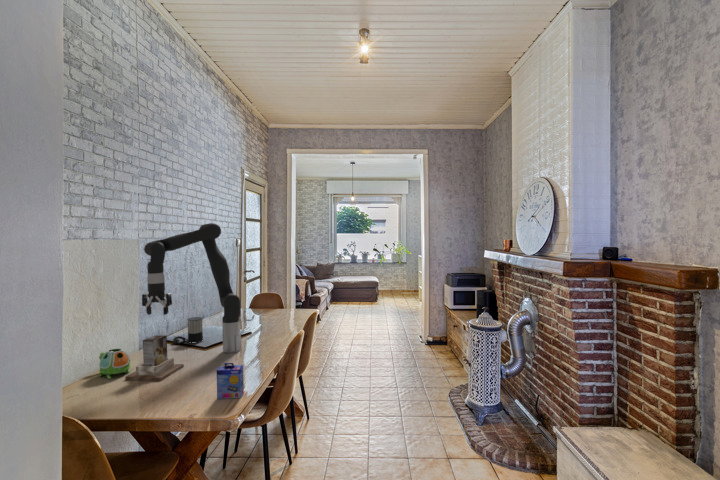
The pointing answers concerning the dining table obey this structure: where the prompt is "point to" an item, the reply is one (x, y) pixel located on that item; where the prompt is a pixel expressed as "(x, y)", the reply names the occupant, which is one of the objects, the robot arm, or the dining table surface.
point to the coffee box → (155, 350)
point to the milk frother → (192, 331)
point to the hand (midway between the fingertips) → (157, 314)
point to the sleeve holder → (155, 371)
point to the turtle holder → (114, 362)
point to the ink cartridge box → (230, 381)
